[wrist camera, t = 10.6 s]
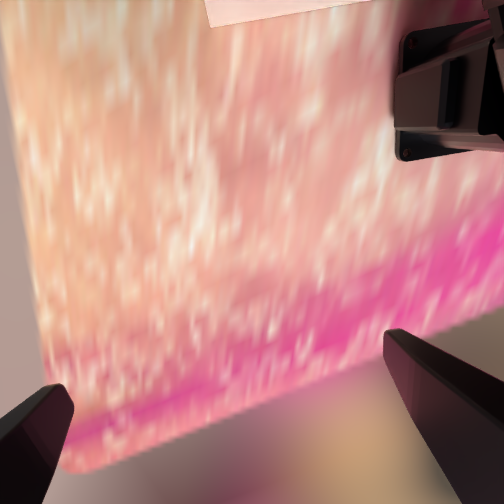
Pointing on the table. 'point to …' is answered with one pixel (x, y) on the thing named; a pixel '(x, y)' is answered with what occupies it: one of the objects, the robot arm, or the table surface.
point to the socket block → (262, 9)
